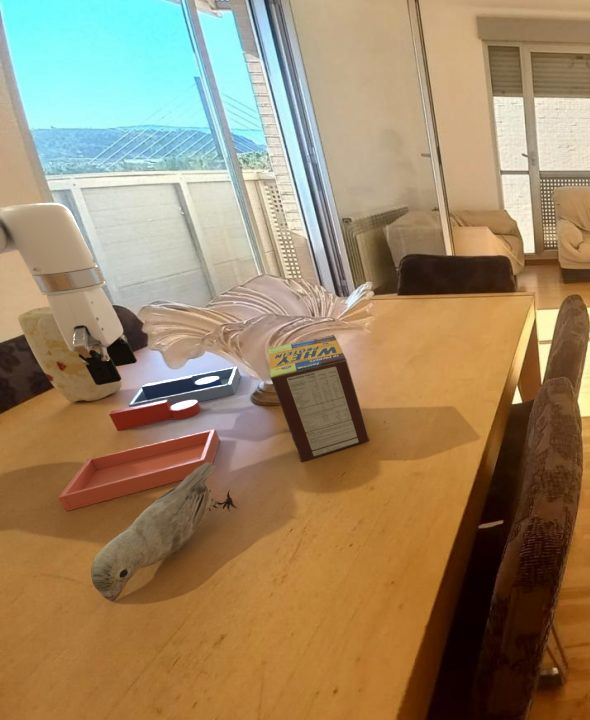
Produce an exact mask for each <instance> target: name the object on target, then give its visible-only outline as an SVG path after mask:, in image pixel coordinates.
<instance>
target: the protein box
mask: <svg viewBox="0 0 590 720" xmlns="http://www.w3.org/2000/svg"><path fill="white" fill-rule="evenodd" d="M267 355H268V367H269V376H270V381H271V383H272V385H273V388H274V391H275V393H276V396H277V398H278V402H279V404H280V408H281V410H282V413H283V416H284V419H285V421H286V424H287V426H288V429H289V432H290V435H291V438H292V440H293V443H294V446H295V448H296V451H297V454H298V456H299V460H300V462H306V461H309V460H312V459H315V458H318V457H322V456H324V455H328V454H331V453H334V452H337V451H340V450H345V449H347V448H349V447H353V446H357V445H359V444H362V443H365V442H369V441H370V437H369V433H368V429H367V426H366V422H365V419H364V415H363V411H362V407H361V405H360V401H359V397H358V395H357V391H356V386H355V384H354V380H353V377H352V374H351V370H350V366H349V363H348V360H347V357H346V355H345V353H344V351H343V349H342V347H341V345H340V343H339V341H338V339H337V337H336V336H335V334H331V335H327V336H323V337H317V338H313V339H307V340H302V341H297V342H293V343H287V344H282V345H276V346H272V347H268V348H267Z"/></svg>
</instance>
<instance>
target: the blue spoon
mask: <svg viewBox="0 0 590 720" xmlns="http://www.w3.org/2000/svg"><path fill="white" fill-rule="evenodd" d="M193 375H194V374H193ZM193 375H187V376H182V377H177V378H171V379H165V380H161V381H156V382H149V383H145V384H143V385H142V386H141V388H142V390H143V392H144V394H145V396H146V398H147V400H151V399H156V398H161V397H166V396H171V395H176V394H181V393H186V392H191V391H195V390H200V389H205V388H210V387H215V386H220V385H222V383H221V380H220V378H219V377H218V376H211V377H206V378H202V379H199V380H197V381H195V380H194V377H193ZM141 388H140V389H141Z"/></svg>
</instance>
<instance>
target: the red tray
mask: <svg viewBox="0 0 590 720" xmlns="http://www.w3.org/2000/svg"><path fill="white" fill-rule="evenodd" d="M220 442H221V440H220V436H219V434H218V432H217V430H216V428H212V429H209V430H205V431H200V432H196V433H193V434H188V435H183V436H179V437H175V438H171V439H166V440H162V441H158V442H154V443H150V444H146V445H142V446H137V447H133V448H129V449H125V450H120V451H116V452H112V453H108V454H103V455H100V456H96V457H95V456H94V457H92V458H87V459H86V460H85V462H83V464H82V465H81V467H80V468H79V469H78V471H77V472H76V474H75V475H74V476H73V477H72V479H71V480H70V481H69V483H67V485H66V487H65V488H64V489H63V491H62V492H61V493H60V495H58V497H57V498H58V500H59V502H60V503H61V505H62V506H63V508H64V510H65V511H66V512H69V511H72V510H76V509H80V508H84V507H87V506H90V505H95V504H99V503H102V502H106V501H109V500H113V499H116V498H120V497H123V496H127V495H131V494H135V493H139V492H142V491H146V490H149V489H153V488H158V487H161V486H165V485H169V484H172V483H175V482H179V481H183V480H184V479H185V478H186V477H187V476H188V475H190V474H191V473H192V472H193V471H194V470H195V469H196V468H198V467H199V466H201V465H203V464H204V463H207V462H208V463H210V465H213V464H214V461H215V457H216V454H217V451H218V448H219V444H220Z"/></svg>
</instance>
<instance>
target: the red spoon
mask: <svg viewBox="0 0 590 720" xmlns="http://www.w3.org/2000/svg"><path fill="white" fill-rule="evenodd" d="M201 412H202V407H201V405H200V402H198V401H197V400H187V401H183V402H179V403H176V404H174V405H172V406H170V404H169V402H168V400H164V401H159V402H154V403H149V404H144V405H139V406H135V407H126V408H121V409H115V410H112V411H110V413H109V417H110V419H111V421H112V424H113V425H114V426H115V429H116V430H117V431H122V430H127V429H132V428H137V427H140V426H145V425H150V424H155V423H158V422H164V421H168V420H175V421H176V420H184V419H185V420H186V419H188V418H191V417H194V416H197V415H198V414H200V413H201Z"/></svg>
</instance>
